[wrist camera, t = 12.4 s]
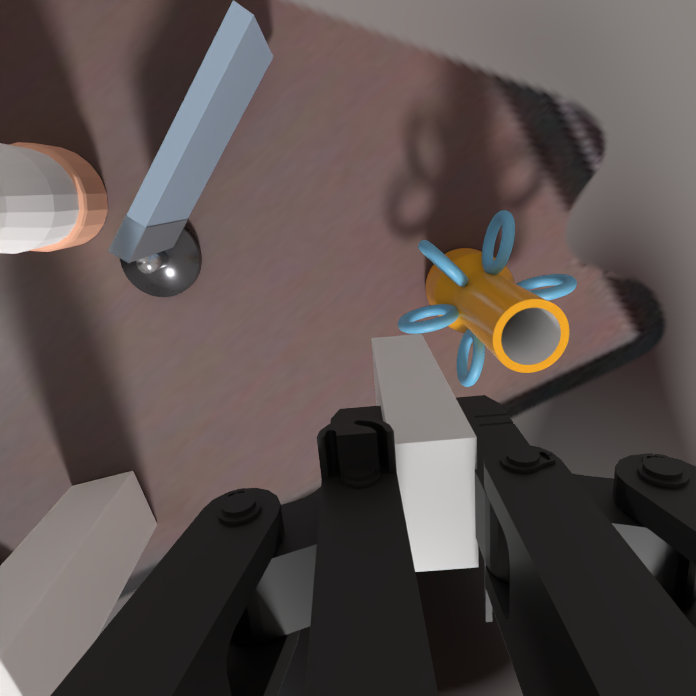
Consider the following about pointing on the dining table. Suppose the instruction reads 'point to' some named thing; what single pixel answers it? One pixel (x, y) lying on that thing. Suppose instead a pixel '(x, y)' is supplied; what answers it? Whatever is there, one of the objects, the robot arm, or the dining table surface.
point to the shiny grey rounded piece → (167, 268)
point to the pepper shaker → (47, 198)
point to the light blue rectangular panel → (196, 137)
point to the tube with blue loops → (492, 306)
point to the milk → (68, 581)
